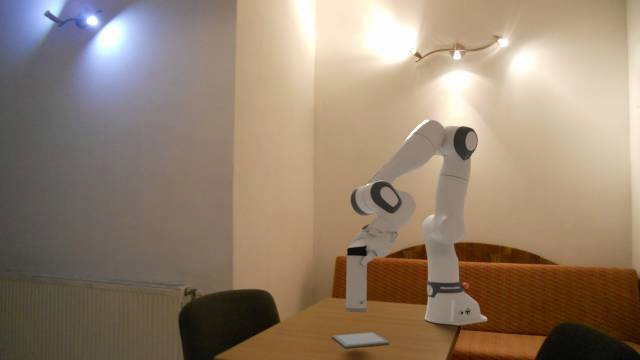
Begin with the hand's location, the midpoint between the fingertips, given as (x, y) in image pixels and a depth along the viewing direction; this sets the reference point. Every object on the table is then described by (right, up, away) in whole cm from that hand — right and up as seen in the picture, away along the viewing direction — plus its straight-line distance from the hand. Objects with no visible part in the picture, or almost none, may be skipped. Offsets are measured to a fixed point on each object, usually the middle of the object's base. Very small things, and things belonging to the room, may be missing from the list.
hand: (355, 264), depth 142 cm
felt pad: (+1, -24, -1) cm, 24 cm away
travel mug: (0, -14, -3) cm, 14 cm away
